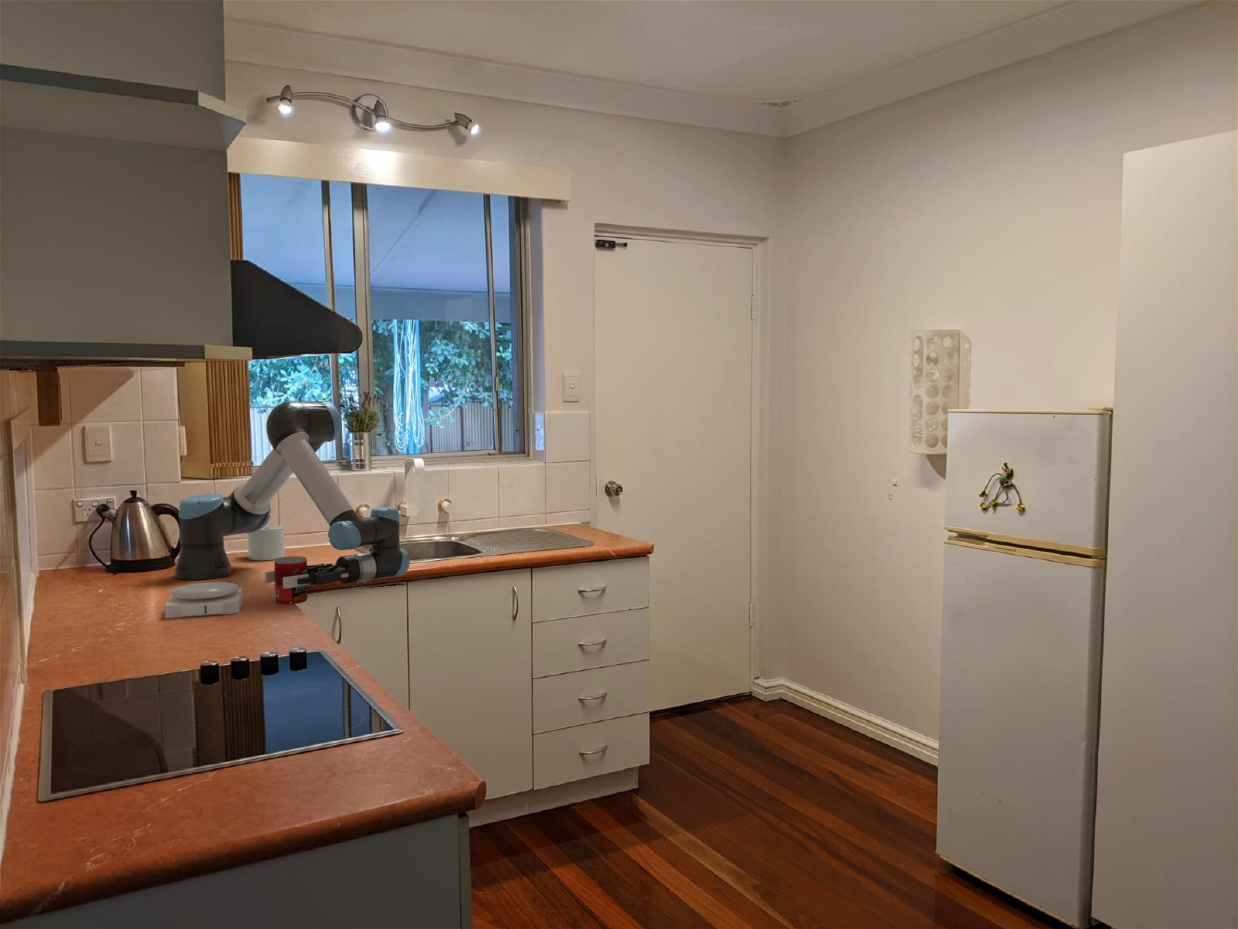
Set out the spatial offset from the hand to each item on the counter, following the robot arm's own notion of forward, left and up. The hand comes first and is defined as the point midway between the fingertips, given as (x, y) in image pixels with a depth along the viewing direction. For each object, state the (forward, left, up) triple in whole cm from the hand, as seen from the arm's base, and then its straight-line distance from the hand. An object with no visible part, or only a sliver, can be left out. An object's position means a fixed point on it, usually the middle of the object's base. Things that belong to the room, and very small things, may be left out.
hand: (274, 580), depth 233 cm
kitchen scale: (0, -16, -6) cm, 17 cm away
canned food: (-2, +4, -6) cm, 8 cm away
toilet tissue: (-73, -5, -6) cm, 73 cm away
